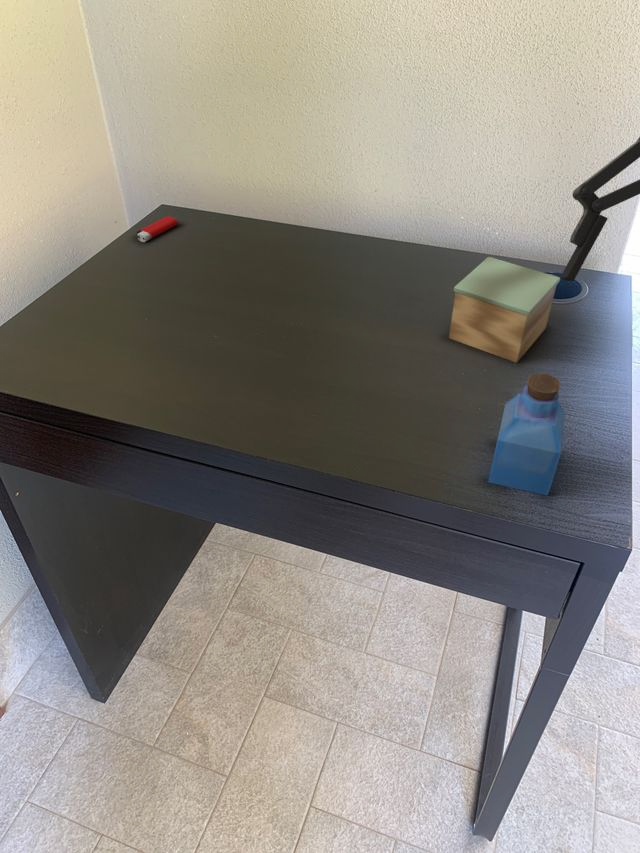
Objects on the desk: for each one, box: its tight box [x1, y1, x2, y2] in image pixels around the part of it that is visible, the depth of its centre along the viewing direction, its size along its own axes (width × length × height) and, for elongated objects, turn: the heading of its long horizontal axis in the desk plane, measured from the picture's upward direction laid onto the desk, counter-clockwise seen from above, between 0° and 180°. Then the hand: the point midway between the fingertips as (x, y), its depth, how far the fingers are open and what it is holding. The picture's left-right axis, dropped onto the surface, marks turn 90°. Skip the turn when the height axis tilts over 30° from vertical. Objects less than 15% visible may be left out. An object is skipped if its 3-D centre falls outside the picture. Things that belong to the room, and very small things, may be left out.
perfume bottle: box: [488, 372, 566, 496], centre depth 71 cm, size 6×6×12 cm
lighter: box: [136, 215, 179, 243], centre depth 119 cm, size 3×1×8 cm
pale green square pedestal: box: [448, 256, 561, 364], centre depth 92 cm, size 10×10×8 cm
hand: (627, 309), depth 68 cm, fingers open, 13 cm apart
